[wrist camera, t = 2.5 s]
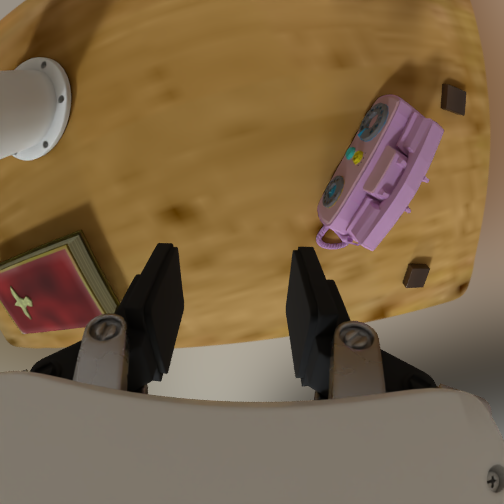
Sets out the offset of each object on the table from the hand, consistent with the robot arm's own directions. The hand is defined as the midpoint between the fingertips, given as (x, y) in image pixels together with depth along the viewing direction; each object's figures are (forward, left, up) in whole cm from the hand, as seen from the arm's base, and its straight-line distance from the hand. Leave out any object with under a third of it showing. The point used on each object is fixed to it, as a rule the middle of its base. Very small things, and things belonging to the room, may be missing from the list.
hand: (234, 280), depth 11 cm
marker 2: (+23, +11, -19) cm, 32 cm away
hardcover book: (-28, -16, -20) cm, 38 cm away
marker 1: (+23, -12, -19) cm, 32 cm away
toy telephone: (+12, 0, -20) cm, 23 cm away
